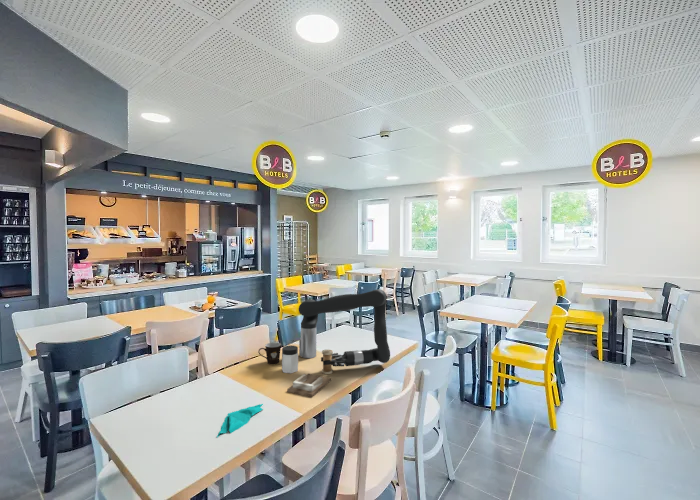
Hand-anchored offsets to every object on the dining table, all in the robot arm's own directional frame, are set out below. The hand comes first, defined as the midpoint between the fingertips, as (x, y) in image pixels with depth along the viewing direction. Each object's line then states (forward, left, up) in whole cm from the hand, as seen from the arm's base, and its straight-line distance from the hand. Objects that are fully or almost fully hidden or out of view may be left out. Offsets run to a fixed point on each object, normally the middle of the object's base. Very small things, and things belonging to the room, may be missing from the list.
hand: (322, 361), depth 175 cm
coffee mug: (-33, +1, -6) cm, 34 cm away
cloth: (-8, -52, -7) cm, 53 cm away
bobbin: (+2, +2, -6) cm, 7 cm away
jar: (-17, -4, -6) cm, 19 cm away
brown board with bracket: (+2, -16, -6) cm, 17 cm away
